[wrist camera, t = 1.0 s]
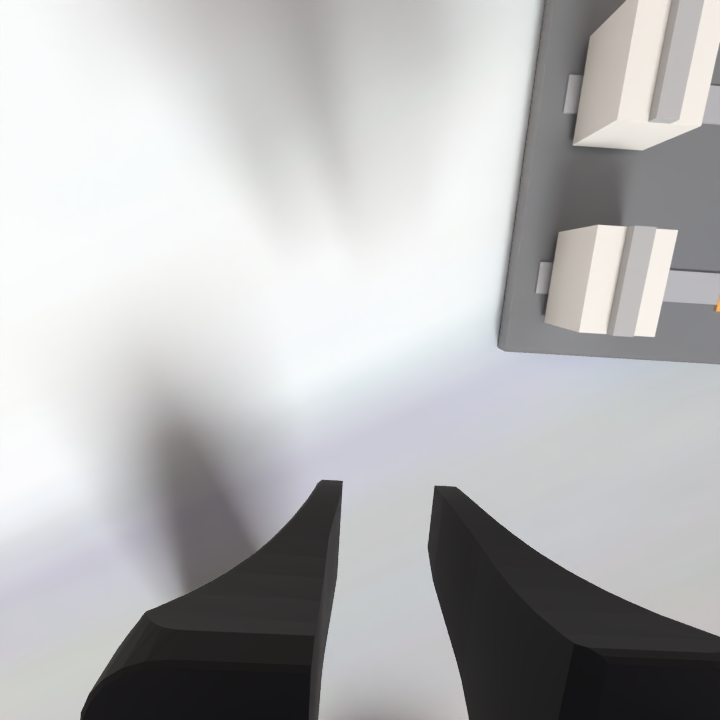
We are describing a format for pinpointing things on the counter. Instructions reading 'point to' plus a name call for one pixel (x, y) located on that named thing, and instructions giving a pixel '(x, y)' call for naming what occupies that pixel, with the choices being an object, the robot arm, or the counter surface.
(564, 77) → the switch panel
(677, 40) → the middle slider
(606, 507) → the counter surface
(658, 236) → the block
